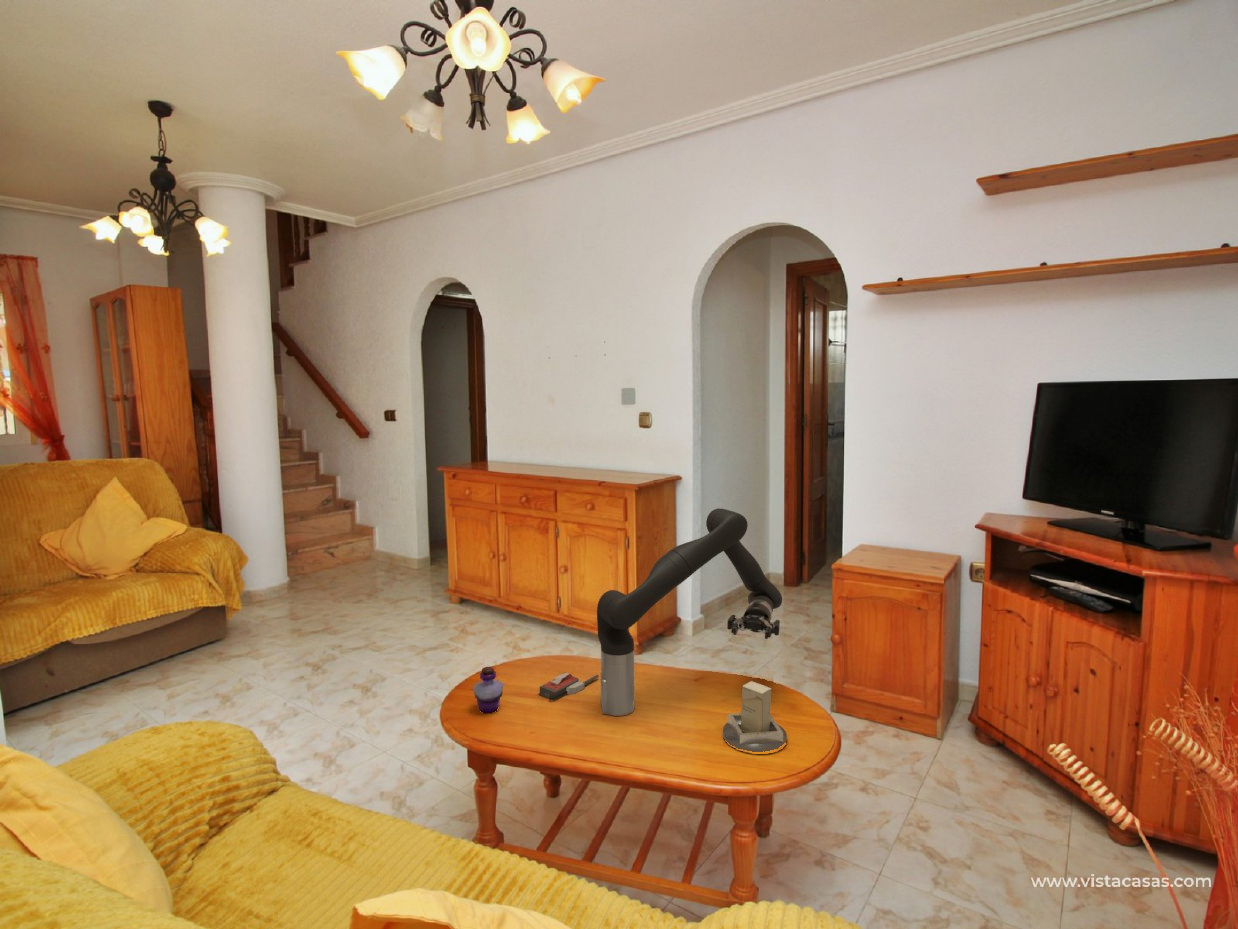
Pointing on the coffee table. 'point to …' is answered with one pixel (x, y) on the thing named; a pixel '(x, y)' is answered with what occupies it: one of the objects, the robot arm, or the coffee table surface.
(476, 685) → the potion bottle
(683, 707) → the coffee table surface
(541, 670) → the coffee table surface
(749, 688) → the skincare box
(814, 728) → the coffee table surface
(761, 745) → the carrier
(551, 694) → the walkie-talkie
